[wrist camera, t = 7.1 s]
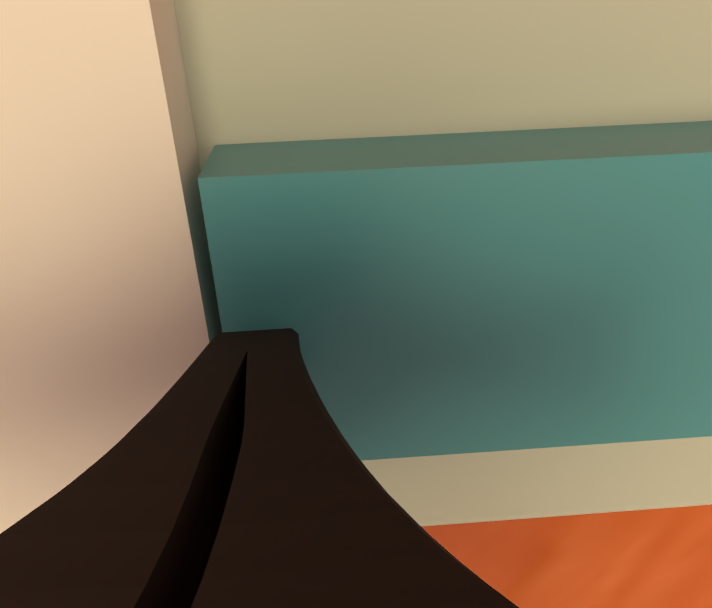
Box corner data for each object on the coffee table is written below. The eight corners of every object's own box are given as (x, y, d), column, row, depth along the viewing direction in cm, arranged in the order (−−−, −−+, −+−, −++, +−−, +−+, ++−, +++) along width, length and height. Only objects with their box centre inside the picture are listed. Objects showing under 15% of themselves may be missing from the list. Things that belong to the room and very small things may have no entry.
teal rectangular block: (678, 378, 15) (728, 435, 13) (252, 406, 14) (244, 468, 12) (748, 118, 12) (825, 146, 10) (215, 144, 11) (198, 177, 10)
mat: (769, 491, 17) (776, 499, 17) (260, 529, 17) (259, 538, 16) (1011, -121, 10) (1030, -124, 10) (163, -90, 10) (159, -92, 9)
